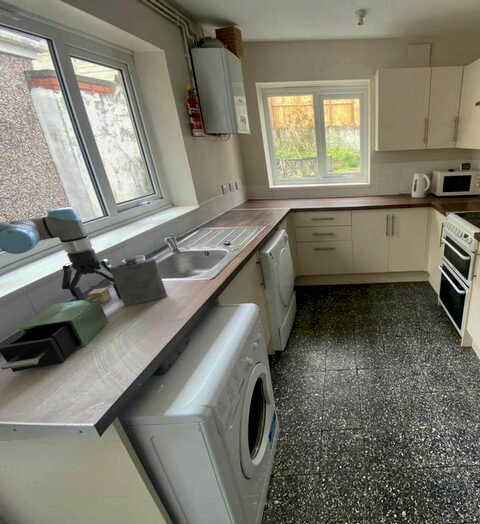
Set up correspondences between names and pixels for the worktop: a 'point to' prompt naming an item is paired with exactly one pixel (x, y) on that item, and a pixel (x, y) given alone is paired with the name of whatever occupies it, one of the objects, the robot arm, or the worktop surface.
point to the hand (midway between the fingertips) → (102, 300)
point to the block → (100, 294)
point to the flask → (138, 281)
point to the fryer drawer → (39, 347)
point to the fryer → (73, 319)
